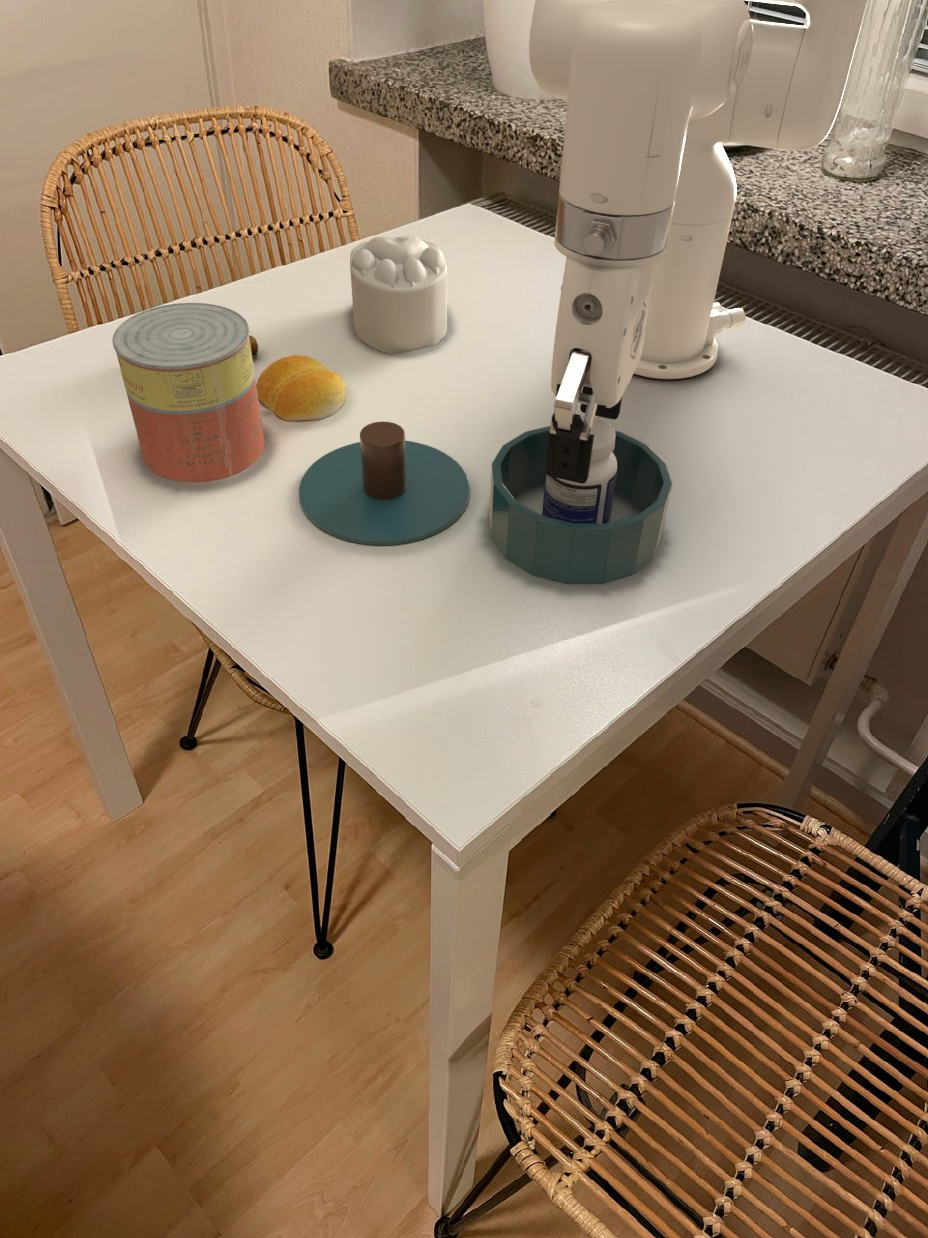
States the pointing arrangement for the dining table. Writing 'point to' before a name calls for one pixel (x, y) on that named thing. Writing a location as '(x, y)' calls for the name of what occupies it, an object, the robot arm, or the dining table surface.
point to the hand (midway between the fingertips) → (583, 444)
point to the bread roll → (301, 389)
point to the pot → (567, 545)
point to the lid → (384, 489)
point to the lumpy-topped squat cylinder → (399, 293)
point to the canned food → (191, 390)
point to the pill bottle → (586, 484)
